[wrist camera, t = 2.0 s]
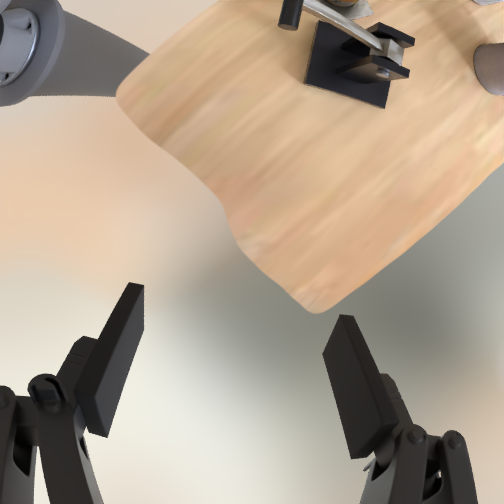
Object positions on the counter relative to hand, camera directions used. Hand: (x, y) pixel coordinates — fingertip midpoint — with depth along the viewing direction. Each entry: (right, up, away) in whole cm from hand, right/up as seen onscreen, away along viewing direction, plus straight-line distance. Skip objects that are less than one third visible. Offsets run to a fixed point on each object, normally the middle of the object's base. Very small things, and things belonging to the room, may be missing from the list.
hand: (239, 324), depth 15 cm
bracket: (+14, +30, +21) cm, 39 cm away
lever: (+9, +25, +8) cm, 27 cm away
